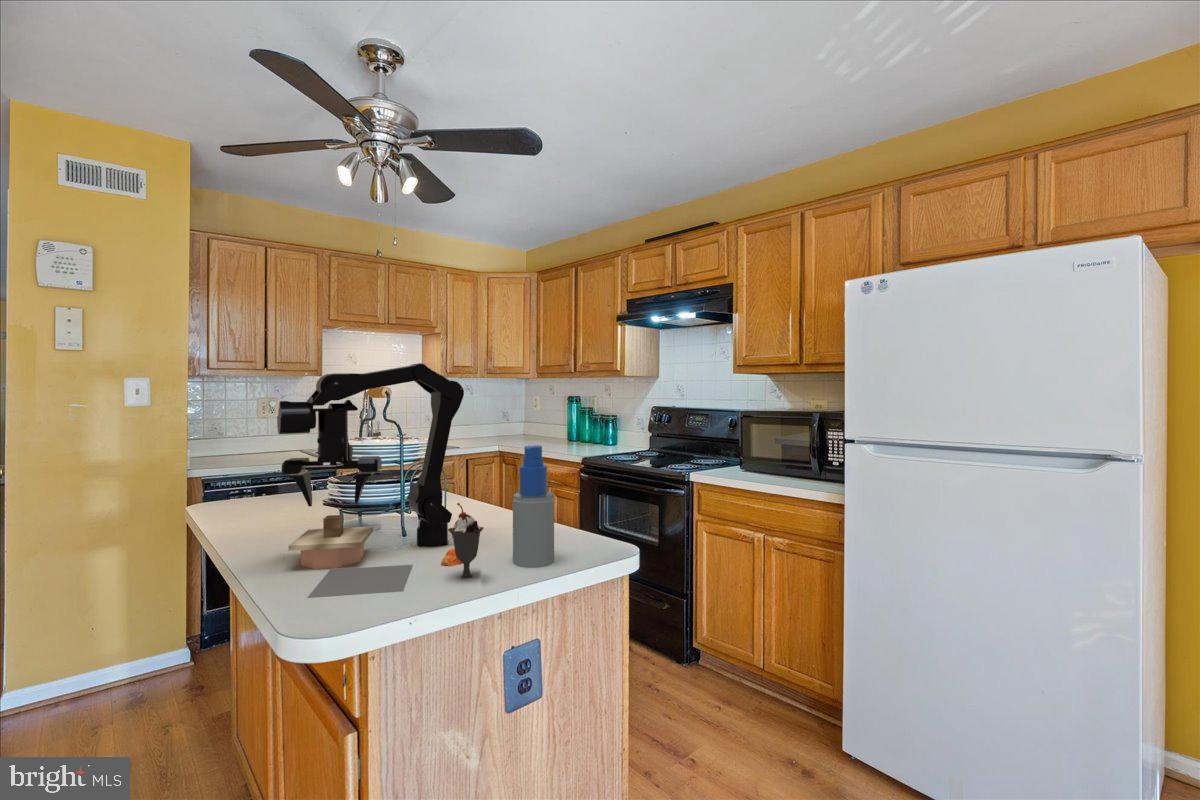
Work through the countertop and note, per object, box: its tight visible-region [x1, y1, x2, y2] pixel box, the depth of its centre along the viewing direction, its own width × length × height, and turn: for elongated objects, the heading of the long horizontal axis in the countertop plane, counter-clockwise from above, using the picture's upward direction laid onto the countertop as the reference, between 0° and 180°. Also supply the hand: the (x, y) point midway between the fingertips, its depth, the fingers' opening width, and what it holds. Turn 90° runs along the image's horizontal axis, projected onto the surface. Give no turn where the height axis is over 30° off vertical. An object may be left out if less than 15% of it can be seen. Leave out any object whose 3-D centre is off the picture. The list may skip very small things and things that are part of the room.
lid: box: [288, 514, 374, 552], centre depth 123 cm, size 14×14×5 cm
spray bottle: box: [512, 444, 555, 568], centre depth 124 cm, size 9×9×25 cm
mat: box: [306, 564, 414, 599], centre depth 110 cm, size 16×16×1 cm
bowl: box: [300, 543, 365, 570], centre depth 123 cm, size 12×12×5 cm
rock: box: [440, 548, 463, 567], centre depth 122 cm, size 12×12×4 cm
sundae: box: [448, 502, 485, 579], centre depth 112 cm, size 7×7×15 cm
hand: (333, 505), depth 123 cm, fingers open, 9 cm apart
